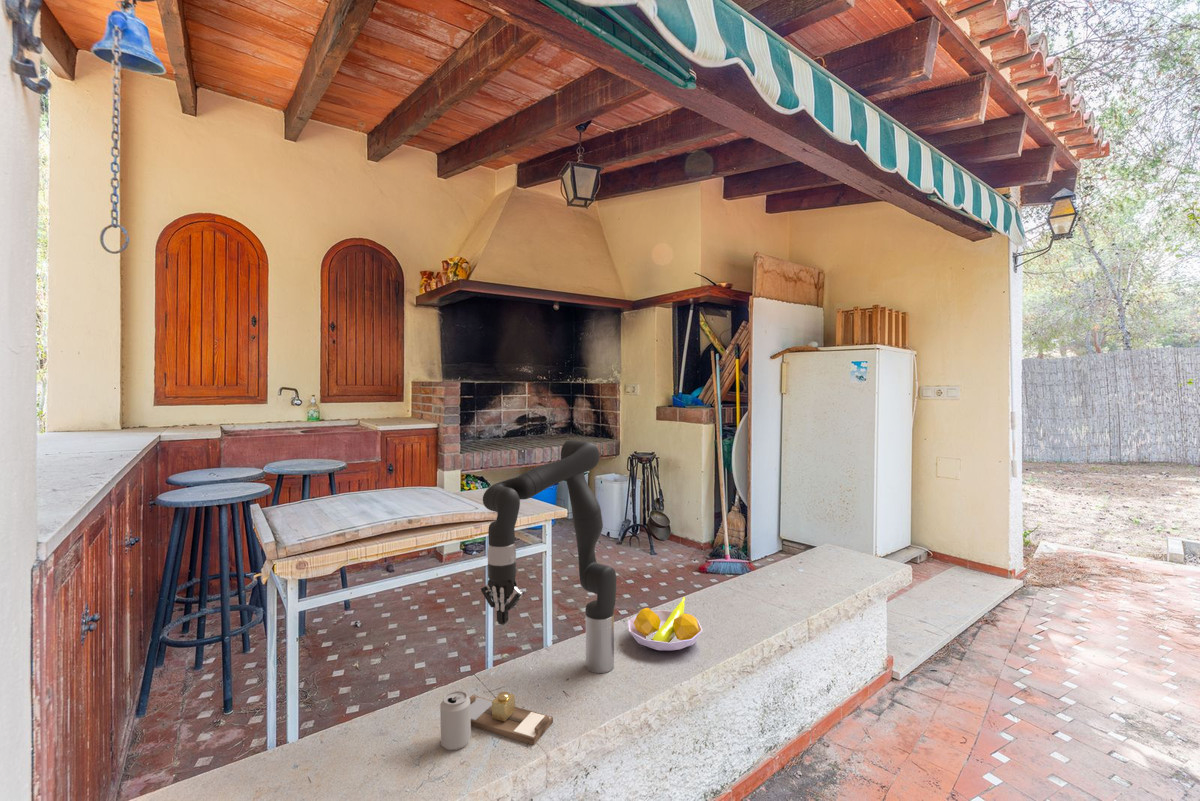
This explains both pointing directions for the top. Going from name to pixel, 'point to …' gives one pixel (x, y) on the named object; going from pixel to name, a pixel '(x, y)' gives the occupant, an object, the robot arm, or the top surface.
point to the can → (455, 720)
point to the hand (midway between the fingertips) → (502, 623)
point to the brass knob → (503, 706)
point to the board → (509, 721)
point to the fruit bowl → (665, 628)
